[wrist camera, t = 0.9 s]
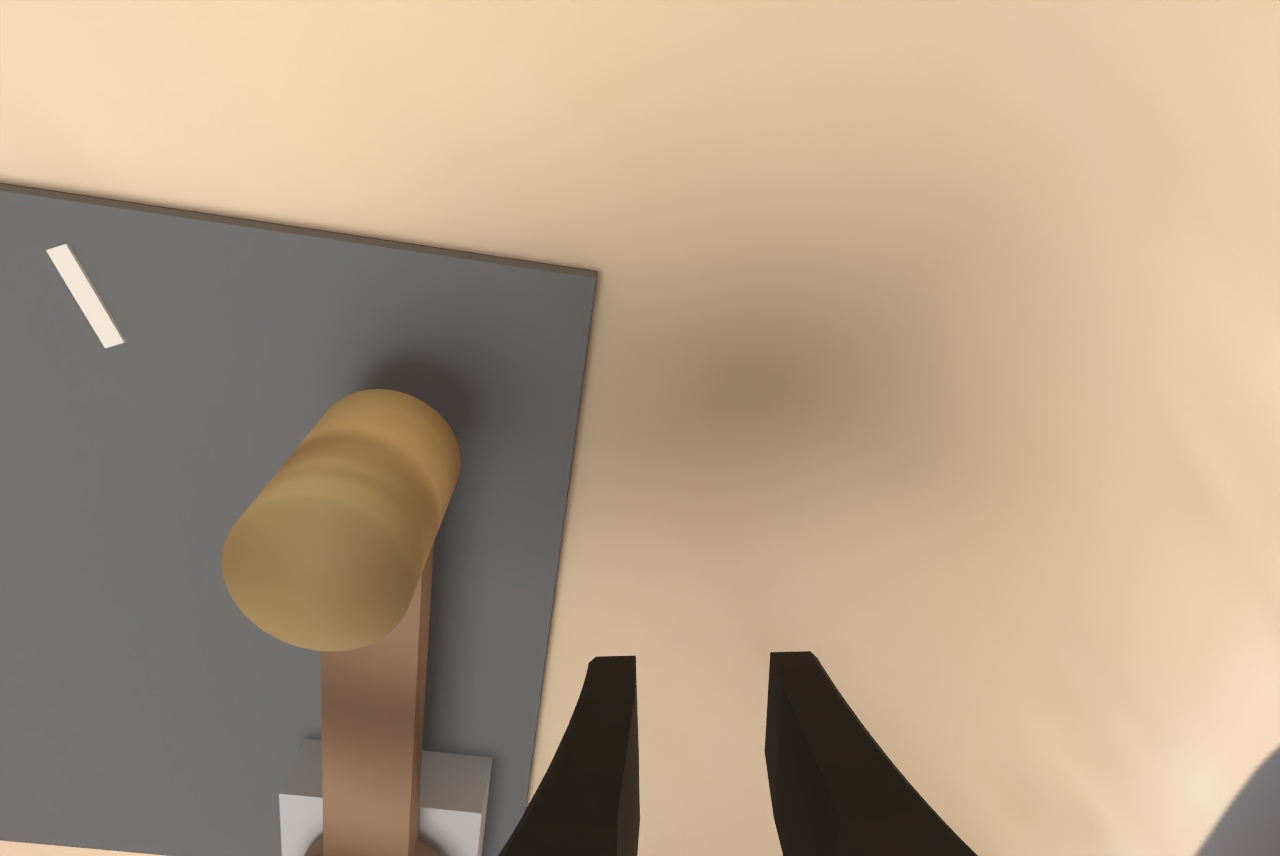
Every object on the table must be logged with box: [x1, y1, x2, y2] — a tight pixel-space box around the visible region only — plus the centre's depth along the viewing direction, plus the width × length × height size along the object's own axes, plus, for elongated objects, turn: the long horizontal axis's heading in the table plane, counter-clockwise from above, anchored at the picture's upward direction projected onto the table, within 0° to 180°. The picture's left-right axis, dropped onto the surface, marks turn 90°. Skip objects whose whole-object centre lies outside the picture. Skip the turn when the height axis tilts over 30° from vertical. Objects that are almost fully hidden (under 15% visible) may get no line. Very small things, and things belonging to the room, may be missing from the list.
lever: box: [221, 389, 461, 856], centre depth 19 cm, size 18×4×4 cm, turn 171°
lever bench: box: [0, 183, 597, 856], centre depth 22 cm, size 21×19×3 cm
